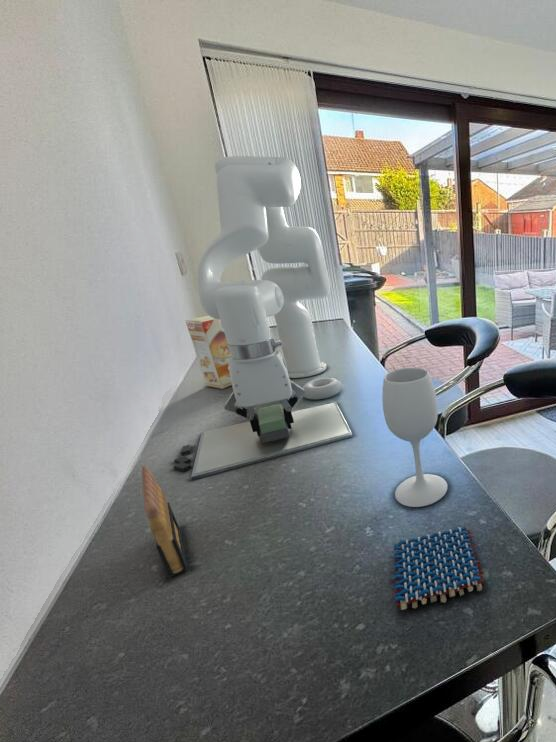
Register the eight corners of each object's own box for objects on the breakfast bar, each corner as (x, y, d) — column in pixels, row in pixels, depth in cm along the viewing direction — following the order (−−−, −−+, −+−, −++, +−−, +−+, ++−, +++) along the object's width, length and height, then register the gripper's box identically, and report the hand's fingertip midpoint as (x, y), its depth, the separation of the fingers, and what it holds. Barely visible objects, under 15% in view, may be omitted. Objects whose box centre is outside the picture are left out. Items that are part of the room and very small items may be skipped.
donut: (295, 402, 103) (333, 401, 102) (292, 390, 101) (330, 389, 101) (313, 387, 112) (348, 386, 112) (310, 376, 111) (346, 375, 110)
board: (202, 434, 88) (201, 431, 87) (336, 403, 101) (335, 401, 101) (192, 480, 72) (190, 476, 71) (352, 436, 85) (352, 433, 85)
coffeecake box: (222, 389, 112) (201, 321, 105) (205, 386, 115) (183, 320, 108) (268, 371, 125) (252, 310, 118) (252, 369, 128) (235, 309, 121)
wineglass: (422, 514, 61) (406, 390, 54) (384, 496, 66) (363, 379, 58) (458, 484, 68) (447, 370, 60) (420, 470, 73) (406, 361, 65)
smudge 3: (174, 469, 75) (173, 465, 75) (182, 465, 76) (180, 462, 76) (184, 472, 74) (183, 468, 74) (192, 468, 75) (190, 464, 75)
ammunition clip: (187, 570, 53) (156, 496, 48) (170, 578, 51) (136, 503, 47) (179, 528, 60) (151, 461, 56) (164, 535, 59) (134, 466, 54)
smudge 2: (175, 463, 77) (173, 459, 77) (183, 459, 78) (181, 456, 78) (183, 466, 76) (182, 462, 76) (191, 462, 77) (190, 458, 77)
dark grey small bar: (191, 444, 82) (192, 447, 83) (182, 446, 82) (183, 449, 82) (189, 450, 80) (190, 453, 80) (180, 452, 79) (182, 455, 80)
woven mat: (486, 592, 48) (486, 579, 47) (397, 616, 46) (394, 604, 45) (469, 532, 58) (468, 521, 57) (394, 550, 55) (392, 538, 54)
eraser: (261, 424, 89) (256, 407, 87) (286, 418, 91) (282, 402, 89) (262, 443, 81) (257, 425, 79) (289, 436, 83) (285, 419, 81)
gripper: (298, 338, 86) (315, 413, 93) (202, 352, 78) (228, 433, 85) (301, 346, 80) (319, 426, 87) (198, 362, 72) (227, 449, 79)
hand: (274, 429), depth 86 cm, fingers closed on eraser, 5 cm apart
